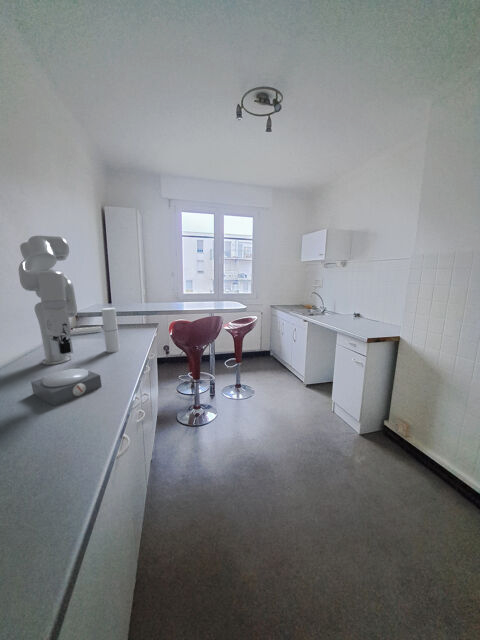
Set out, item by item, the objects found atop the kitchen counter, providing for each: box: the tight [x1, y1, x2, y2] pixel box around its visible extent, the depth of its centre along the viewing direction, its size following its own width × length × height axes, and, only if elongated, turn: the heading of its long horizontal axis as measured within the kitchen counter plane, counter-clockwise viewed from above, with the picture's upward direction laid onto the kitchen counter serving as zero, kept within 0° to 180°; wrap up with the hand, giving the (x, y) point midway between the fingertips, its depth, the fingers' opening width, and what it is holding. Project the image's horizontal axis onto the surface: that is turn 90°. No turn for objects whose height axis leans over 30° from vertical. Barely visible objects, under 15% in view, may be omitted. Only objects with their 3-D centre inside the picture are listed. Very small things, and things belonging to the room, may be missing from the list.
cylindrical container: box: [101, 307, 121, 353], centre depth 146 cm, size 7×7×25 cm
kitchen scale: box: [30, 366, 102, 407], centre depth 99 cm, size 18×17×6 cm
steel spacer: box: [50, 336, 74, 357], centre depth 96 cm, size 5×5×6 cm
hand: (62, 351), depth 96 cm, fingers closed on steel spacer, 5 cm apart
